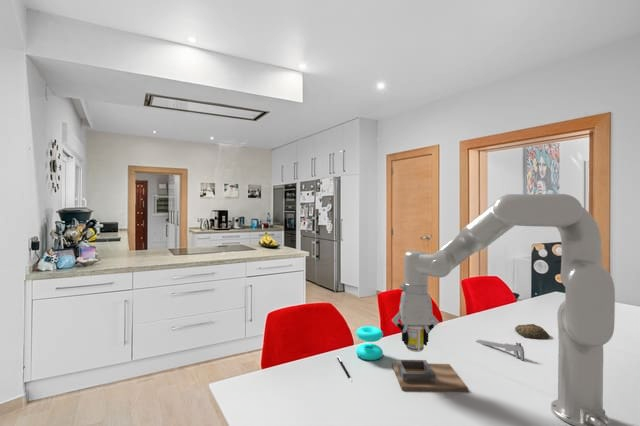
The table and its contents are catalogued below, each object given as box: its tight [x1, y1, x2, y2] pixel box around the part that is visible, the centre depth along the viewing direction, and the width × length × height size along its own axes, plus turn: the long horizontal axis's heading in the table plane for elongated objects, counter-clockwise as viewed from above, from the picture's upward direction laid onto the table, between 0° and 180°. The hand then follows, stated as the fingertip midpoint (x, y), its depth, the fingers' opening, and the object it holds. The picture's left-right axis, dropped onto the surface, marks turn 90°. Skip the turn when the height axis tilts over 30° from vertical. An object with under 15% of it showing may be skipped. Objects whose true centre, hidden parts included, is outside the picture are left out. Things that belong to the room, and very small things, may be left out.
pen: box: [336, 355, 353, 382], centre depth 117 cm, size 1×19×1 cm, turn 11°
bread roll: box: [514, 323, 550, 340], centre depth 151 cm, size 13×12×5 cm
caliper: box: [475, 339, 525, 361], centre depth 133 cm, size 20×1×6 cm, turn 26°
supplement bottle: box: [405, 325, 425, 353], centre depth 111 cm, size 6×6×10 cm
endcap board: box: [391, 359, 469, 393], centre depth 111 cm, size 16×20×4 cm
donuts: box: [355, 325, 384, 361], centre depth 128 cm, size 10×10×10 cm
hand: (414, 343), depth 111 cm, fingers closed on supplement bottle, 5 cm apart
